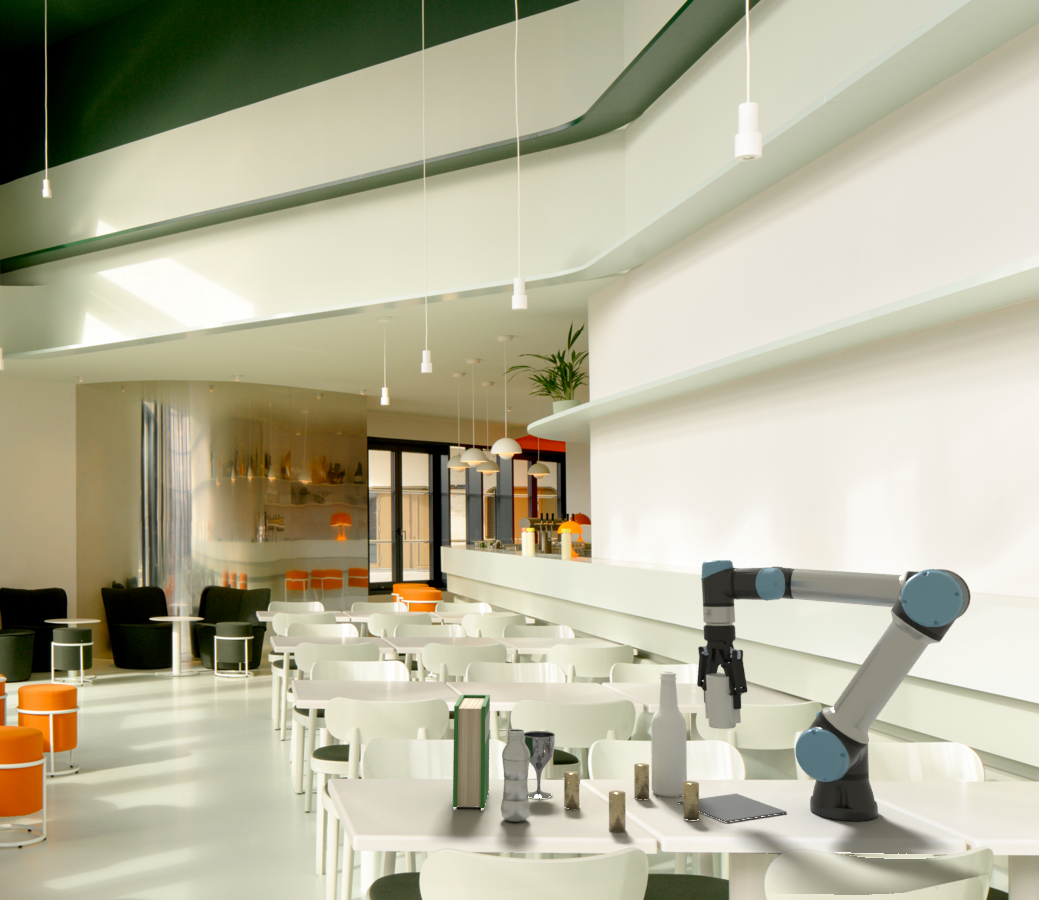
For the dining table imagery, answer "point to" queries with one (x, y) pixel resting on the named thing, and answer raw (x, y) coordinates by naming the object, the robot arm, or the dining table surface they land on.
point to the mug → (718, 701)
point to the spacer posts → (641, 792)
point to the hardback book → (471, 750)
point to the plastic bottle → (515, 777)
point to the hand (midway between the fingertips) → (722, 720)
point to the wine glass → (539, 755)
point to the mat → (735, 807)
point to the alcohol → (668, 742)
